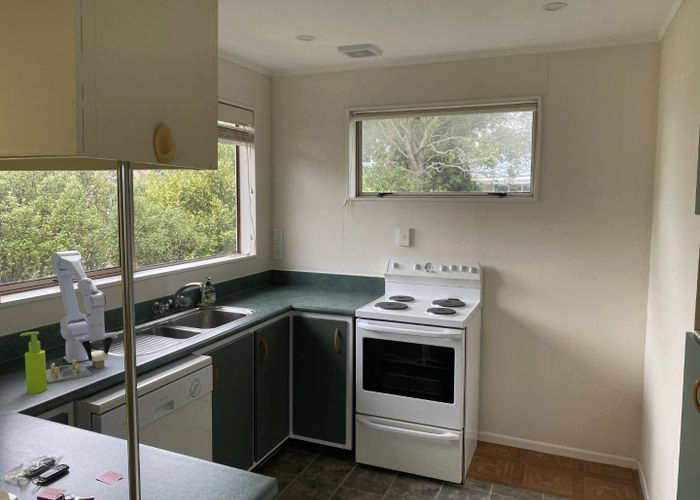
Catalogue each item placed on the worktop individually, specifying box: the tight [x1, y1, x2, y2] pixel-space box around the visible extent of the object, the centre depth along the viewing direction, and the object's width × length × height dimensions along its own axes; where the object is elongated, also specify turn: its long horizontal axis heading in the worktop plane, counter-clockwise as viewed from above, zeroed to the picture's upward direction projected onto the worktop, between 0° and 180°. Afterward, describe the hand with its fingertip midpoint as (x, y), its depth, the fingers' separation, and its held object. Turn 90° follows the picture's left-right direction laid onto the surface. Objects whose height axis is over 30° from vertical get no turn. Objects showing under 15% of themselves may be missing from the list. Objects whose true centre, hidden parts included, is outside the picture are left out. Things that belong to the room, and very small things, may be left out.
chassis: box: [46, 360, 93, 385], centre depth 200 cm, size 16×14×4 cm
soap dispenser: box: [19, 331, 48, 395], centre depth 182 cm, size 6×7×20 cm
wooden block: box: [91, 360, 105, 369], centre depth 210 cm, size 6×3×3 cm, turn 39°
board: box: [91, 350, 109, 362], centre depth 210 cm, size 9×5×2 cm, turn 39°
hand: (97, 358), depth 210 cm, fingers closed on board, 5 cm apart
